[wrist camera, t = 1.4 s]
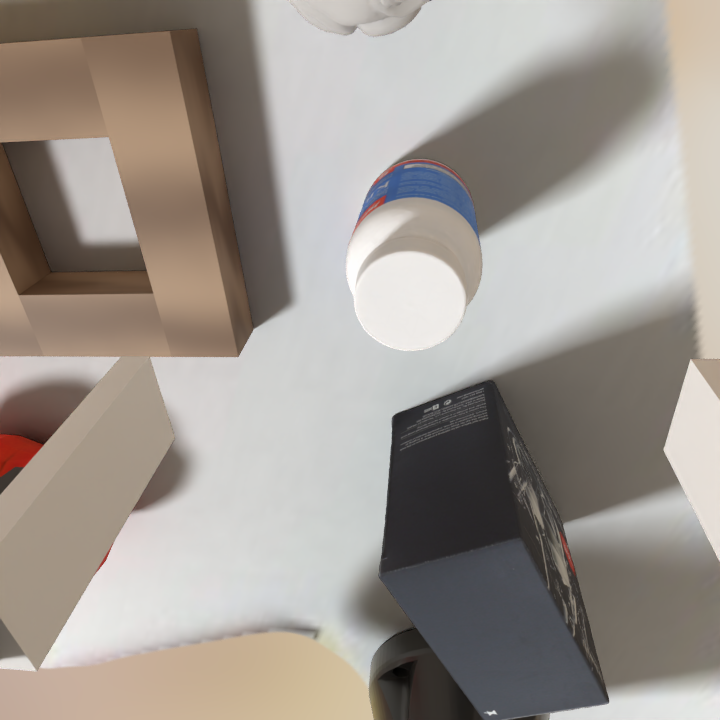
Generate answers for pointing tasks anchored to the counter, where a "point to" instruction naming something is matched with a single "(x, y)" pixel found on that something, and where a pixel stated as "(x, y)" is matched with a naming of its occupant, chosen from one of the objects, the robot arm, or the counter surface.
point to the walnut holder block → (144, 196)
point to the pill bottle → (414, 255)
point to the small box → (486, 560)
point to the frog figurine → (359, 15)
